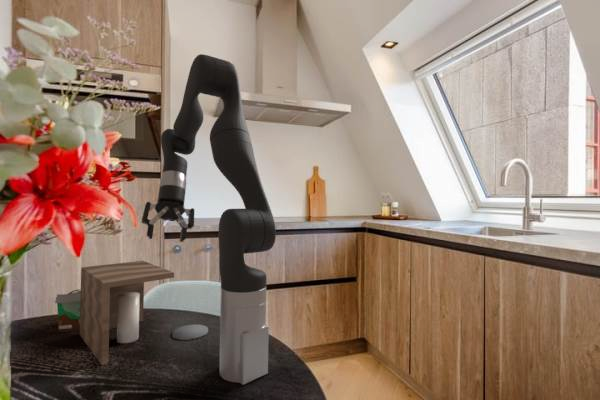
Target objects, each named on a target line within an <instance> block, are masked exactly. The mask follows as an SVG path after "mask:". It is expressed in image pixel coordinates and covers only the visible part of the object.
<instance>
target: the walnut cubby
mask: <svg viewBox="0 0 600 400" xmlns="http://www.w3.org/2000/svg"><path fill="white" fill-rule="evenodd" d="M80 269H81V270H80V289H81V302H80V329H79V336H80V337H81V338H82V340H83V341H84V343H85V344H86V345H87V347H88V348H89V350H90V351H91V352H92V353H93V355H94V357H95V358H96V359H97V361H98V362H99V363H100V365H101V366H105V365H108V364H109V353H110V352H109V349H110V348H109V347H110V345H109V344H110V330H111V329H112V330H113V329H117V310H118V295H120V294H123V293H130V292H137V293H139V294H140V299H139V323H140V321H141V322H144V303H145V302H144V301H145V300H144V297H145V283H147V282H148V283H149V282H154V281H161V280H167V279H172V278H175V272H174V271H171V270H169V269H167V268H166V269H165V268H163V267H160V266H158V265H155V264H152V263H151V262H148V261H145V260H136V261H128V262H120V263H119V262H117V263H111V264H110V263H109V264H101V265H92V266H84V267H83V266H81V268H80Z"/></svg>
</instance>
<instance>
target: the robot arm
mask: <svg viewBox="0 0 600 400" xmlns="http://www.w3.org/2000/svg"><path fill="white" fill-rule="evenodd" d="M238 74H239V73H238V70H237V69H236V66H235V64H233V63H231V61H228V60H225V59H222V58H218V57H214V56H211V55H208V54H201V53H200V54H198V55H197V56H195V58H194V59H193V61H192V63H191V65H190V69H189V72H188V76H187V81H186V85H185V88H184V89H185V90H184V93H183V96H182V103H181V106H180V109H179V112H178V114H177V116H176V118H175V121H174V123H173V129H172V128H166V129H165V130H164V131H163V132H162V133H161V137H160V144H161V149H162V155H163V165H162V166H163V167H162V172H161V173H162V174H161V177H160V182H159V185H158V187H159V189H158V195H157V196H158V197H157V203H156V204H154V203H152V202H150V201H146V203H145V204H144V209H143V213H142V217H141V223H142V224H145V225H146V226H147V230H146V237H148V240H152V239H153V236H154V228H155V224H156V223H157V222H158V221H159V220H162V221H170V222H175V221H176V223H177V225H178V226H179V227H180V229H181V230H180V236H179V242H180V243H183V242H184V241H185V240H186V239H187V233H188V230H191V229H193V227H195V208H192V207H191V208H185V198H186V191H187V190H186V189H187V175H188V174H187V173H188V172H187V171H188V161H187V159H186V158H184V157H183V156H185V155H186V156H188V155H191V154H192V153H193V152H194V150H195V148H196V137H197V134H198V132H199V130H200V128H201V127H202V125H203V123H204V112H203V108H202V106H201V104H200V100H199V95H200V94H203V95H205V96H206V95H208V96H212V97H217V98H220V99H221V100H222V102H223V109H222V111H221V113H220V114H219V116H218V117H217V119H216V120H215V122H214V123H213V125H212V127H211V130H210V132H209V142H210V143H209V144H210V149H211V153H212V158H213V162H214V164H215V166H216V168H217V169H218V170H219V171H220V173H221V174H222V175H223V176H224V178H225V179H226V180H227V181H228V182H229V183H230V184H231V186H233V187H234V189H235V190H236V192H237V193H238V194H239V196H240V198H241V200H242V202H243V205H244V208H228V209H226V210H224V211H223V212H222V214H221V215H220V219H219V223H218V253H219V254H218V258H219V263H218V264H219V276H220V277H219V278H220V310H219V311H220V319H219V321H220V322H219V368H218V369H219V370H218V371H219V373H218V374H219V376H220V377H221V378H222V379H223V380H224V381H227V382H231V383H237V384H238V383H239V384H240V385H246V384H248V383H251V382H252V381H255V380H257V379H258V378H261V377H263V376H266V375H267V374H268V373H269V335H270V334H269V330H270V328H269V326H268V325H267V324H266V322H267V319H266V318H267V273H266V272H265V271H263V270H262V269H259V268H255V267H252V266H249V265H247V264H246V261H245V255H244V254H255V253H264V252H268V251H270V250H272V248H273V247H274V245H275V242H276V237H277V231H276V230H277V229H276V224H275V219H274V215H273V213H272V209H271V207H270V204H269V201H268V198H267V196H266V193H265V191H264V187H263V184H262V181H261V177H260V174H259V170H258V166H257V163H256V157H255V155H254V148H253V144H252V140H251V136H250V132H249V130H248V126H247V121H246V116H245V114H244V107H243V101H242V94H241V87H240V80H239V76H238ZM179 154H181V155H183V156H181V155H179ZM153 209H154V210H155V211H156V213H157V214H156V215H154V216H153V218H151V219H149V213H150V212H152V210H153ZM184 213H185V215H186V217H188V219H187V223H186V221H185V219H184V217H183V214H184Z"/></svg>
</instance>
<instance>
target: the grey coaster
mask: <svg viewBox="0 0 600 400" xmlns="http://www.w3.org/2000/svg"><path fill="white" fill-rule="evenodd" d="M207 334H209V328H208V326H206V325H203V324H186V325H182V326H179V327H177V328H175V329H174V330H173V331H172V333H171V337H172V338H173V339H175V340H177V341H192V340H191V339H194V340H197V339H196V338H198V339H200V338H199V337H201V338H203V337H205V336H206V335H207ZM204 335H205V336H204ZM202 336H203V337H202Z"/></svg>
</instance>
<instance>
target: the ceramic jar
mask: <svg viewBox="0 0 600 400" xmlns="http://www.w3.org/2000/svg"><path fill="white" fill-rule="evenodd" d="M139 299H140V294H139V293H137V292H130V293H123V294H120V295H118V310H117V327H116V342H117V343H118V344H129V343H130V344H131V343H133V342H136V341H137V340H139V338H140V322H139Z"/></svg>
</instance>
